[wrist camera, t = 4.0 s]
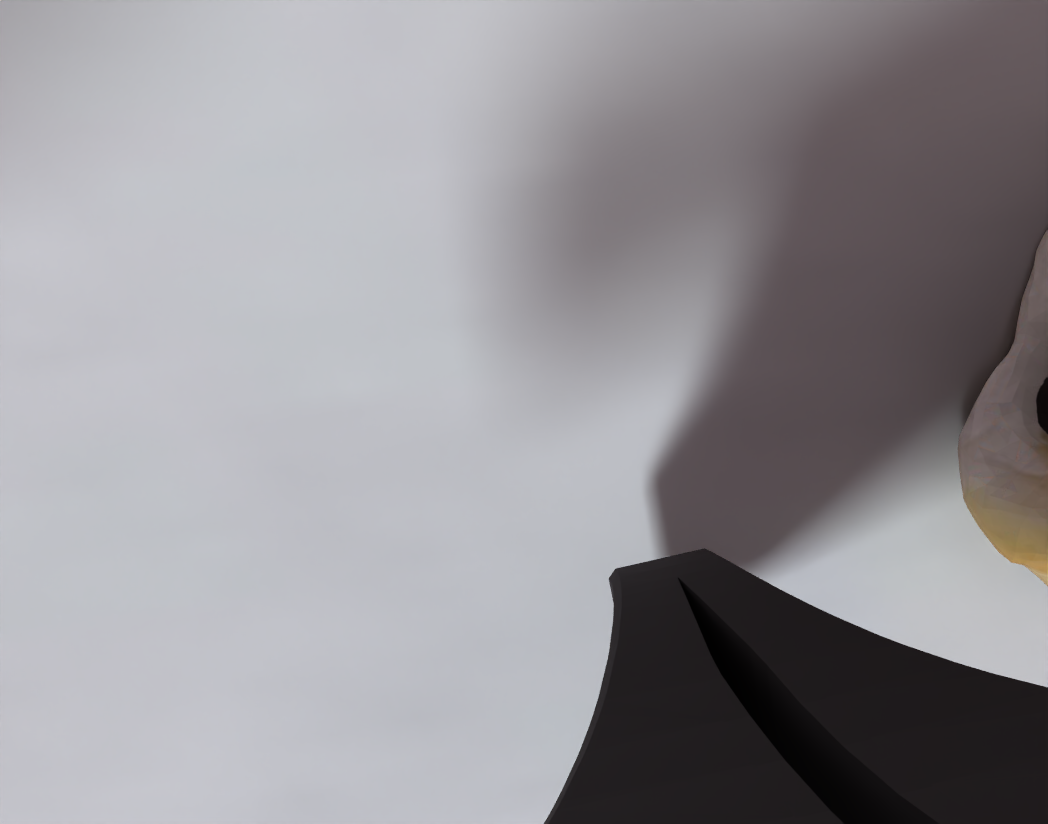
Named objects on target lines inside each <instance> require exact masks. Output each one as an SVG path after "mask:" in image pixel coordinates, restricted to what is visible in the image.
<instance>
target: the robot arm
mask: <svg viewBox="0 0 1048 824" xmlns="http://www.w3.org/2000/svg"><path fill="white" fill-rule="evenodd" d="M609 582H610V587H611V592H612V597H613V602H614V616H613V627H612V634H611V642H610V650H609V655H608V661H607V665H606V669H605V673H604V677H603V681H602V686H601V690H600V694H599V698H598V701H597V704H596V707H595V711H594V714H593V717H592V720H591V723H590V726H589V728H588V731H587V734H586V736H585V739H584V742H583V744H582V747H581V749H580V752H579V754H578V757H577V759H576V761H575V763H574V765H573V768H572V770H571V772H570V774H569V776H568V778H567V781H566V783H565V785H564V787H563V789H562V791H561V793H560V795H559V797H558V799H557V801H556V803H555V805H554V807H553V809H552V811H551V812H550V814H549V816H548V818H547V819H546V821H545V823H544V824H1048V688H1047V687H1044V686H1040V685H1036V684H1032V683H1028V682H1024V681H1020V680H1016V679H1012V678H1008V677H1004V676H1000V675H996V674H993V673H989V672H986V671H982V670H979V669H976V668H972V667H969V666H965V665H962V664H959V663H956V662H953V661H950V660H947V659H944V658H941V657H938V656H935V655H932V654H929V653H926V652H923V651H920V650H917V649H915V648H912V647H909V646H906V645H903V644H900V643H898V642H895V641H892V640H890V639H887V638H885V637H882V636H879V635H877V634H874V633H872V632H870V631H867V630H865V629H863V628H861V627H858V626H856V625H854V624H851V623H849V622H847V621H844V620H842V619H840V618H837V617H835V616H833V615H831V614H829V613H827V612H824V611H822V610H820V609H818V608H816V607H814V606H812V605H810V604H808V603H806V602H804V601H802V600H800V599H798V598H796V597H794V596H792V595H790V594H788V593H786V592H784V591H782V590H780V589H778V588H776V587H775V586H773V585H771V584H769V583H767V582H765V581H763V580H762V579H760V578H758V577H756V576H754V575H752V574H751V573H749V572H747V571H745V570H743V569H742V568H740V567H738V566H736V565H734V564H733V563H731V562H729V561H727V560H726V559H724V558H722V557H720V556H718V555H716V554H715V553H713V552H711V551H709V550H707V549H701V550H696V551H692V552H687V553H683V554H679V555H674V556H670V557H665V558H661V559H657V560H652V561H648V562H643V563H639V564H635V565H630V566H626V567H621V568H617V569H615V570H614V572H613V573H612V575H611V576H610V577H609Z"/></svg>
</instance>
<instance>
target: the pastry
mask: <svg viewBox="0 0 1048 824" xmlns="http://www.w3.org/2000/svg"><path fill="white" fill-rule="evenodd" d="M958 457H959V470H960V477H961V484H962V491H963V498H964V501H965V503H966V505H967V507H968V509H969V511H970V513H971V514H972V516H973V518H974V519H975V521H976V523H977V524H978V526H979V527H980V529H981V530H982V531H983V533H984V534H985V535H986V537H987V538H988V539H989V540H990V542H991V543H992V544H993V545H994V547H995V548H996V549H997V550H998V552H999V553H1001V554H1002V555H1003V556H1004V557H1006V558H1007V559H1008V560H1009V561H1010V562H1012V563H1017V564H1021V565H1024V566H1025V567H1027V568H1028V569H1029V570H1030V571H1031V572H1033V573H1034V574H1035V575H1036V576H1038V577H1039V578H1040V579H1041V580H1042V581H1043V582H1044V583H1045V584H1046V585H1047V586H1048V229H1047V231H1046V232H1045V234H1044V236H1043V238H1042V240H1041V242H1040V244H1039V246H1038V248H1037V250H1036V255H1035V261H1034V266H1033V269H1032V272H1031V275H1030V278H1029V281H1028V284H1027V286H1026V289H1025V292H1024V295H1023V297H1022V302H1021V307H1020V312H1019V317H1018V322H1017V327H1016V333H1015V339H1014V342H1013V345H1012V347H1011V349H1010V351H1009V353H1008V354H1007V356H1006V357H1005V358H1004V359H1003V361H1002V362H1001V363H1000V364H999V365H998V366H997V367H996V368H995V370H994V371H993V373H992V374H991V376H990V377H989V379H988V380H987V382H986V384H985V385H984V387H983V389H982V391H981V393H980V395H979V397H978V398H977V400H976V402H975V404H974V406H973V408H972V410H971V412H970V415H969V417H968V419H967V421H966V423H965V425H964V427H963V430H962V432H961V434H960V436H959V443H958Z"/></svg>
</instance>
